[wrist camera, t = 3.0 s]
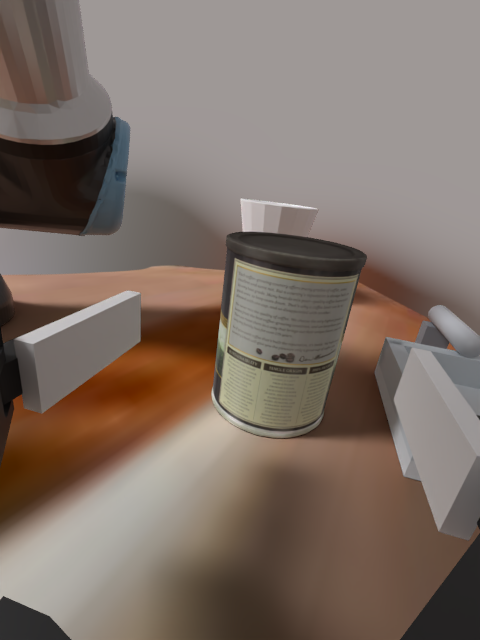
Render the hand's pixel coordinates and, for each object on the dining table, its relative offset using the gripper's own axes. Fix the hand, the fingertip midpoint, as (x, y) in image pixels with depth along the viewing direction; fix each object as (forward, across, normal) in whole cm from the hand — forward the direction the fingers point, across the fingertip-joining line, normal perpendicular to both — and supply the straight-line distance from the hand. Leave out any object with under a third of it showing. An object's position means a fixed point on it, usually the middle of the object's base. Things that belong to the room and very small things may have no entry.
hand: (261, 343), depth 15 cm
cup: (+45, -6, -10) cm, 47 cm away
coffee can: (+11, 0, -11) cm, 15 cm away
